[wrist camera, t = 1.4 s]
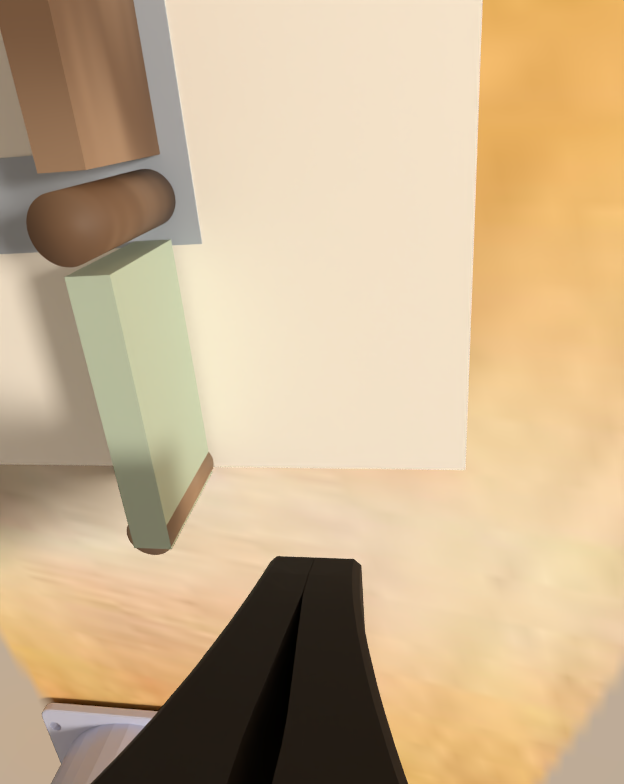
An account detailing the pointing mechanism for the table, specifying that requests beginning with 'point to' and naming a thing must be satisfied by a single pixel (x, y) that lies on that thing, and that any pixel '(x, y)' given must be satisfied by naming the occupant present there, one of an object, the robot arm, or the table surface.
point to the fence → (85, 122)
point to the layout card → (279, 236)
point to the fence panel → (144, 386)
